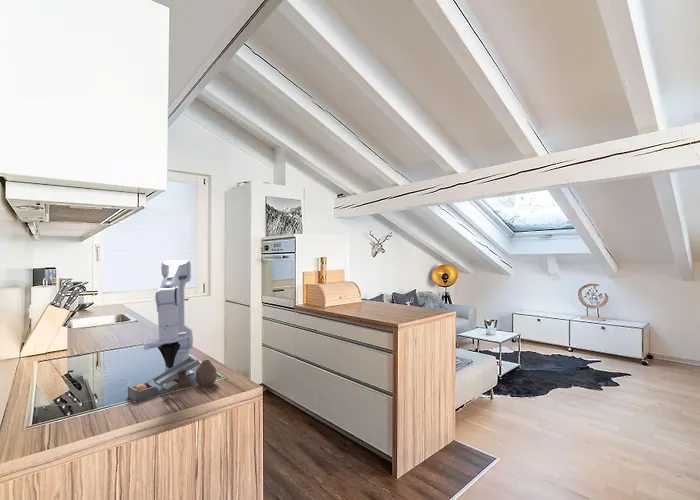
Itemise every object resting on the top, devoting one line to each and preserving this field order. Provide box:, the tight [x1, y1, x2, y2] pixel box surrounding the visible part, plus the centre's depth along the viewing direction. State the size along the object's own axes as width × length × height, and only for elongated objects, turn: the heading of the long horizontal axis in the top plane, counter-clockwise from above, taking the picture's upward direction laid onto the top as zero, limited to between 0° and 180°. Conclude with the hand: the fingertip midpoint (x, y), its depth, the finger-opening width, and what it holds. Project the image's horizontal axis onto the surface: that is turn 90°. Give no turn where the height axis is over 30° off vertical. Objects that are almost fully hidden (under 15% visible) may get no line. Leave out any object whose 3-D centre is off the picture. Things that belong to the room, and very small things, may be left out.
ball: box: [135, 383, 147, 391], centre depth 117 cm, size 4×4×4 cm
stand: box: [167, 367, 192, 391], centre depth 126 cm, size 10×5×6 cm, turn 51°
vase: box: [195, 359, 218, 388], centre depth 125 cm, size 7×7×9 cm
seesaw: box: [152, 356, 201, 394], centre depth 123 cm, size 14×15×2 cm
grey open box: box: [127, 381, 159, 403], centre depth 117 cm, size 7×7×4 cm
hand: (169, 366), depth 115 cm, fingers closed
